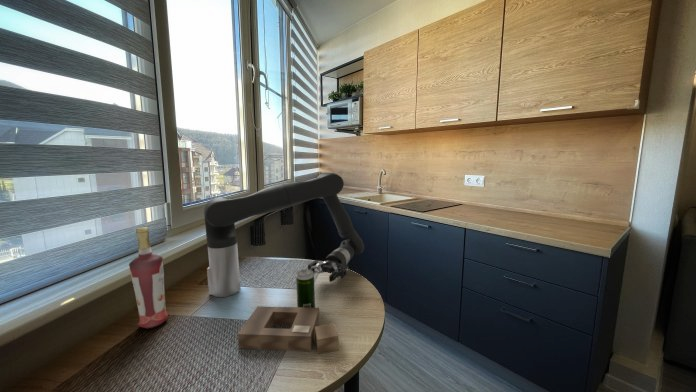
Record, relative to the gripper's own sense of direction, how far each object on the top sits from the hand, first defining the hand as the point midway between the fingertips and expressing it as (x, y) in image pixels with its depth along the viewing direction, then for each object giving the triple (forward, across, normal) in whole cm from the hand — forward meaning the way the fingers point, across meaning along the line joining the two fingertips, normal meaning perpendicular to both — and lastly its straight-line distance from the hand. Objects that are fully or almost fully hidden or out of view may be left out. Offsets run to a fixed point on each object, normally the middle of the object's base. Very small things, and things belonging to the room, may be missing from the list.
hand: (318, 277), depth 87 cm
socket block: (+21, 0, +7) cm, 22 cm away
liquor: (+30, -37, +7) cm, 48 cm away
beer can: (+9, 0, +7) cm, 11 cm away
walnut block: (+21, +13, +7) cm, 25 cm away
